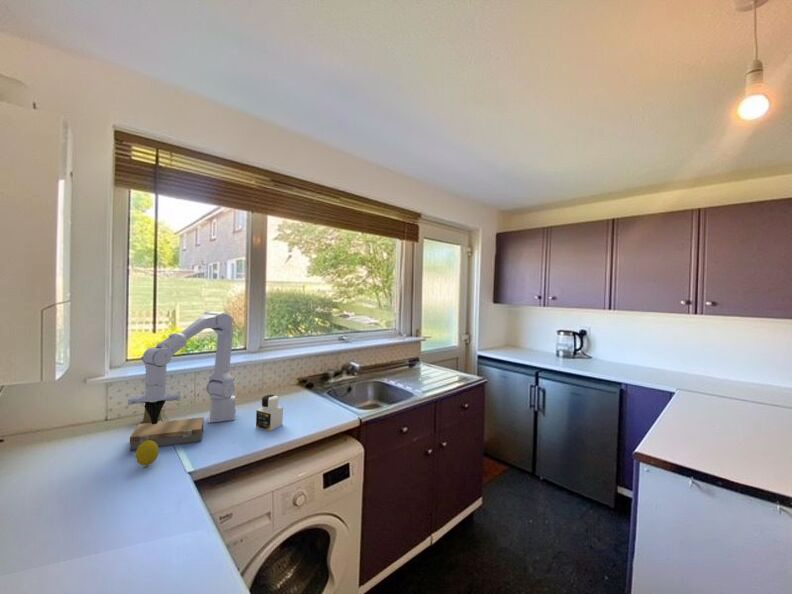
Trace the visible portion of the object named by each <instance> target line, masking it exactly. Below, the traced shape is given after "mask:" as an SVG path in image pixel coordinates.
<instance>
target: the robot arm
mask: <svg viewBox="0 0 792 594" xmlns="http://www.w3.org/2000/svg"><path fill="white" fill-rule="evenodd" d="M206 329H211V330H213V331H214V333H216V334H217V342H216V350H215V359H214V361H215V362H214V371H213V373H212V374H211V375H210V376H209V377H208V382H207V384H206V387H205V391H206V393H207V394H208V396H209V398H210V399H209V400H210V401H209V404H210V405H209V415H208V420H207V423H218V422H219V423H220V422H227V421H234V420H235V418H236V411H237V409H236V395H234V392H235V389H236V388H235V387H236V386H235V383H234V382H235V380H234V377H233V376H232V374H230V367H231V358H232V347H233V338H234V328H233V317H232V316H231V315H230V314H229V313H228V312H220V311H211V310H207V311H204V313H202V314H200V315H199V317H198V319H196V320H195V321H194V322H192V323H191V324H190V325H188V327H186V328H185V329H184V330H182V331H181V332H180V333H179V332H176V333H170V334H169V335H168V337H167V338H165V339H164V340H163V341H161V342H158V343H157V344H156V345H155V346H154V347H153V346H152V347H149V348H147V349H146V350H145V351H144V353H143V355H142V356H141V361H142V363H144V367H145V384H144V386H145V389H144V395H139V396H131V397H129V398H128V399H127V406H131V405H136V404H137V405H138V404H144V406H143V407H144V410H145V409H146V410H147V412H148V414H149V416H150V418H151V422H152V424H157V423H158V422H159V421H158V418H159V415H160V412H161V411H162V409H163V407H164V405H165V404H166V402H170V401H171V402H172V401H181V399H182V393H167V365H168V364H169V363H170V362H171V360H172V357H173V356H174V355H175V354H177V352H179V351H180V350H182V349H183V348H184V347H186V346H187V343H188V341H189V340H190V339H191V338H193V337H195V336H197V335H198V334H199V333H201V332H202V331H204V330H206Z"/></svg>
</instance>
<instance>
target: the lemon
mask: <svg viewBox="0 0 792 594" xmlns="http://www.w3.org/2000/svg"><path fill="white" fill-rule="evenodd" d="M158 455H159V447H158V445H157V444H156V442H154V441H151V440H146V441H145V442H143V443H141V444H140V445H139V447H138V448H137V450H136V451H135V459H136V461H135V462H137V464H139V465H140V466H144V467H148V466H149V465H152V464H153V463H154V462H155V461H156V460H157V458H158Z"/></svg>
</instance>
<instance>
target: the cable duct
mask: <svg viewBox="0 0 792 594" xmlns="http://www.w3.org/2000/svg"><path fill="white" fill-rule="evenodd" d="M204 423H205V421H204V422H203V426H202V431H201V433H199V434H192V436H190V437H183V436H175V437H167V438H159V439H151V441H154V442H156V444H157V445H158V448H164V447H170V446H171V447H172V446H181V445H187V444H194V443H201V442H202V438H203V434H204V428H205V427H204V425H205V424H204ZM140 444H141V443H140V441H135V442H130V441H129V452H133V451H135V452H136V451H137V448H138V447H139V445H140Z"/></svg>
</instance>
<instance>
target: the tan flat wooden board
mask: <svg viewBox="0 0 792 594" xmlns="http://www.w3.org/2000/svg"><path fill="white" fill-rule="evenodd" d="M204 420H205V417H195V418H184V419H176V420H175V419H174V420H167V421H166V420H165V421H158V423H157V424H152V423H139V424H137V426H136V427H135V429H134V430H133V432H132V433H131V435H130V436H129V443H130V442H135V441H140V443H143V442H145V441H146V440H151V439H159V438H167V437H175V436H183V437H190V436H192V434H199V433H201V431H202V426H203V422H204V423H205V421H204Z"/></svg>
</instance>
